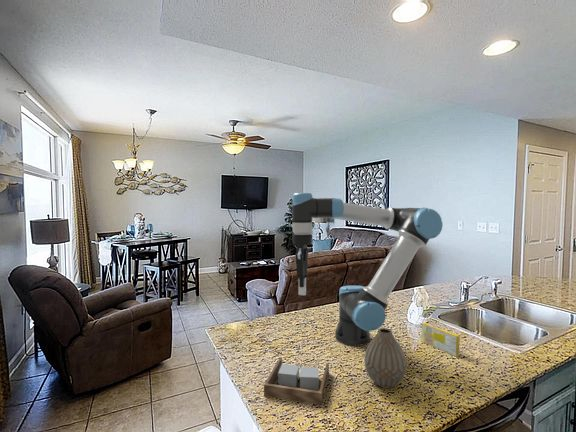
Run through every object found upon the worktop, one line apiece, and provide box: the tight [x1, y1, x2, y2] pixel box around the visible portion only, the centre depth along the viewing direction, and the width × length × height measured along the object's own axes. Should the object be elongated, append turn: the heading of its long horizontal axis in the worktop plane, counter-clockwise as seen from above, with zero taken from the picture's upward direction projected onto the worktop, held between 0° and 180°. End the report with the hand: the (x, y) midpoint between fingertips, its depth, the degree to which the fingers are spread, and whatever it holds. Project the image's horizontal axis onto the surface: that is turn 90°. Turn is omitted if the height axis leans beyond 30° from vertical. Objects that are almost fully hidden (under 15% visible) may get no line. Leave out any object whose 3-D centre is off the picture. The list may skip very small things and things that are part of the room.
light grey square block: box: [299, 366, 320, 390], centre depth 102 cm, size 6×6×4 cm
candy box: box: [421, 322, 461, 358], centre depth 127 cm, size 16×2×8 cm, turn 28°
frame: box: [263, 356, 330, 406], centre depth 102 cm, size 18×18×4 cm
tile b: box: [277, 363, 300, 388], centre depth 104 cm, size 6×6×4 cm
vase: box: [363, 327, 407, 389], centre depth 102 cm, size 13×13×18 cm
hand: (302, 294), depth 119 cm, fingers closed
